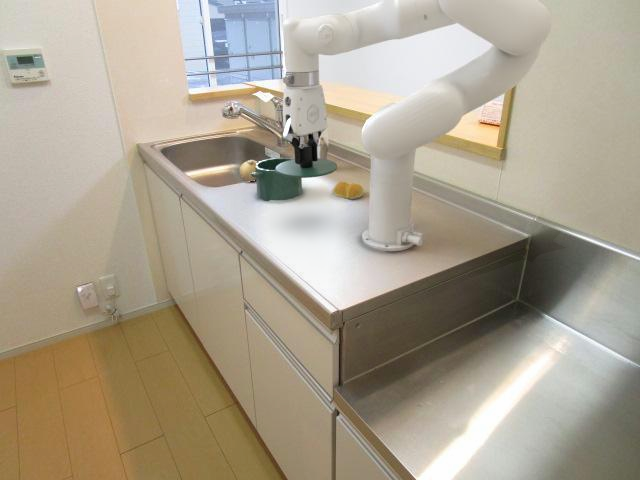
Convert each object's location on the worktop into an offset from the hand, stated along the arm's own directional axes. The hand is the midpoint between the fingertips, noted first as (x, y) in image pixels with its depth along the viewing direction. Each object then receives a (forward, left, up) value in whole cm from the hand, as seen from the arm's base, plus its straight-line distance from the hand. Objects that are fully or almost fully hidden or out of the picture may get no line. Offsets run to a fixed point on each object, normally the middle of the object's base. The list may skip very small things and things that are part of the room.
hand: (306, 161), depth 106 cm
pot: (+25, -14, -18) cm, 34 cm away
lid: (0, 0, -2) cm, 2 cm away
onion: (+43, -18, -18) cm, 50 cm away
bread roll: (+8, -26, -18) cm, 33 cm away
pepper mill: (+33, -41, -18) cm, 56 cm away
